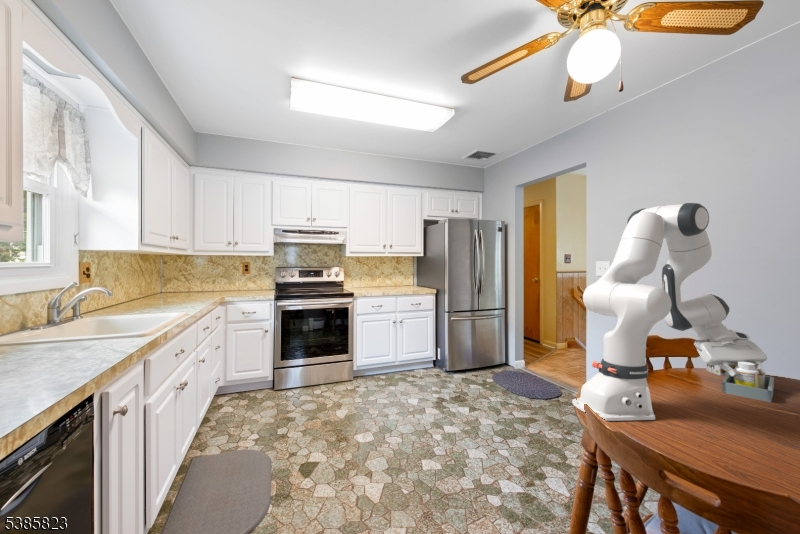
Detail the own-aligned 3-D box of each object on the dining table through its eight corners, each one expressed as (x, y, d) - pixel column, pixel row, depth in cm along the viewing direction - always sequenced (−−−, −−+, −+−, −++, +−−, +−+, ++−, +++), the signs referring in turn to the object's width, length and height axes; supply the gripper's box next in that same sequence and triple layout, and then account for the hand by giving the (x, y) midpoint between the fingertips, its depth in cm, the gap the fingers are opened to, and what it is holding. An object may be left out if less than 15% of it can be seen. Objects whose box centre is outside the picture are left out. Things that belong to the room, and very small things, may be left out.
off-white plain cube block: (763, 391, 110) (763, 374, 110) (734, 386, 115) (734, 369, 115) (765, 387, 114) (764, 370, 114) (736, 381, 119) (736, 365, 119)
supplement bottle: (746, 390, 111) (745, 360, 111) (764, 396, 106) (764, 365, 106) (730, 390, 111) (729, 360, 111) (747, 396, 106) (746, 365, 106)
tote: (771, 405, 101) (771, 391, 101) (722, 395, 110) (722, 382, 110) (773, 389, 114) (773, 377, 114) (729, 381, 122) (729, 369, 122)
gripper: (696, 335, 115) (726, 371, 105) (751, 334, 116) (785, 369, 106) (685, 344, 120) (712, 380, 110) (738, 343, 120) (769, 378, 111)
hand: (749, 375), depth 108 cm, fingers open, 8 cm apart
